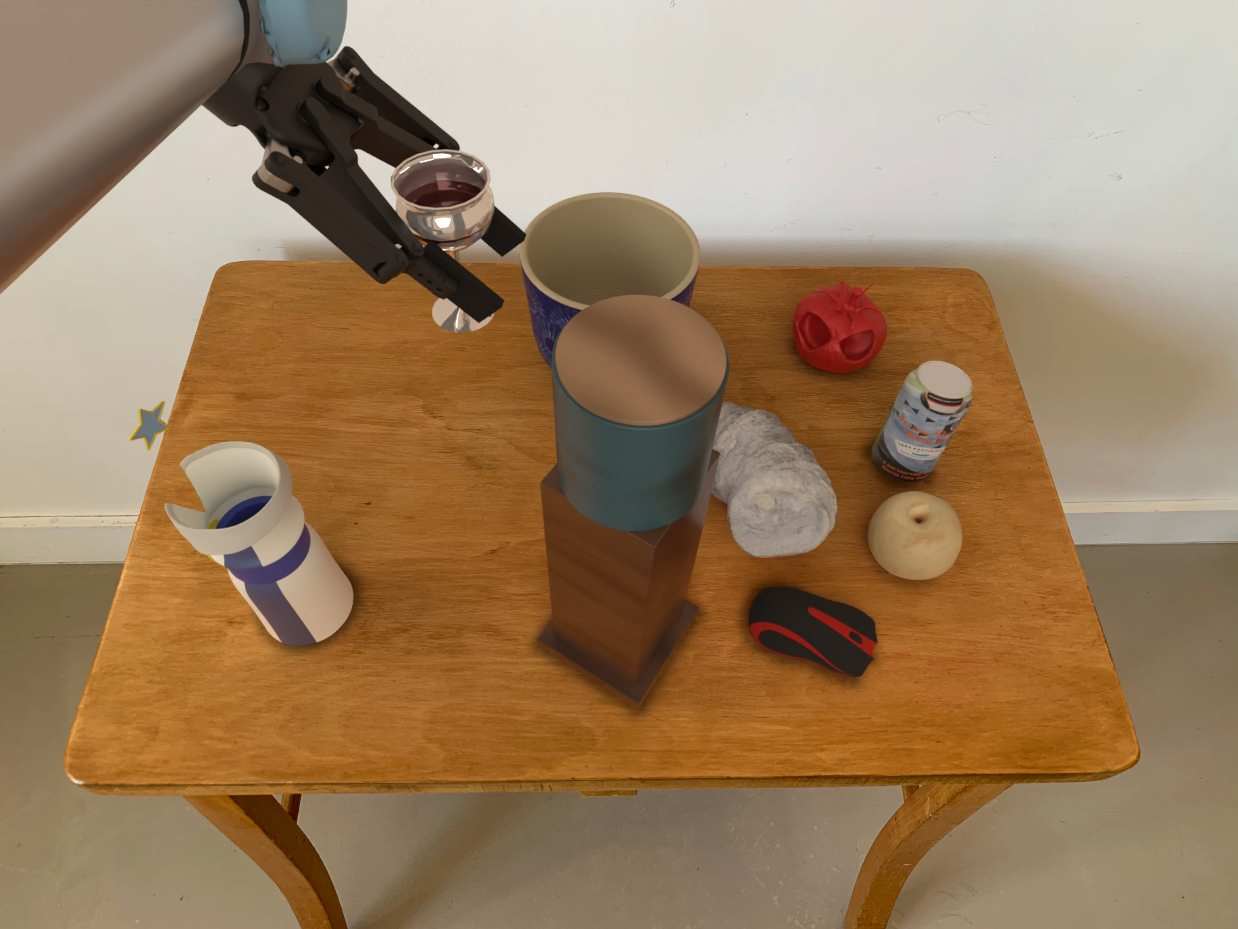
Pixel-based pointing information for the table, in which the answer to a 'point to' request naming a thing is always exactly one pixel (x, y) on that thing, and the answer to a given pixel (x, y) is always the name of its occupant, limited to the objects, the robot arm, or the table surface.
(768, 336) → the table surface
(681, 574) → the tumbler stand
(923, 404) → the beverage can
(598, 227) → the planter
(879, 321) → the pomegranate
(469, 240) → the wineglass
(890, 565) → the apple
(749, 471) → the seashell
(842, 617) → the computer mouse
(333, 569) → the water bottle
